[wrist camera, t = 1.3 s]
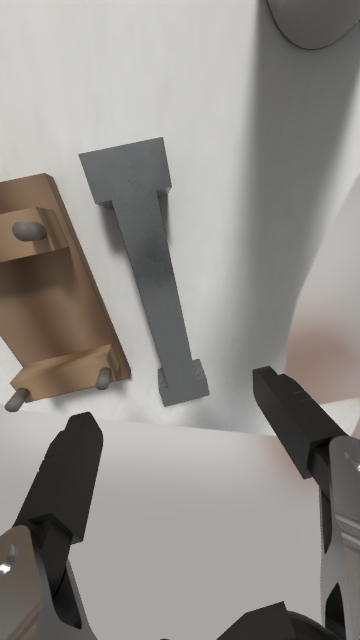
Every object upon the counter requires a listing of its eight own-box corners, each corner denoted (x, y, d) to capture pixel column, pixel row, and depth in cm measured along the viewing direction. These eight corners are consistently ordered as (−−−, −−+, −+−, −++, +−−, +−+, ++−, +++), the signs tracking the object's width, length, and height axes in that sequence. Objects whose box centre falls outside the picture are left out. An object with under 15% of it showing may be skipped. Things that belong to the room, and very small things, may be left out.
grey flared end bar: (160, 154, 17) (162, 136, 14) (202, 374, 29) (209, 395, 26) (93, 168, 17) (78, 154, 14) (162, 384, 29) (164, 406, 25)
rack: (53, 177, 17) (2, 152, 11) (130, 369, 27) (125, 409, 21) (-77, 204, 17) (-199, 193, 11) (51, 389, 27) (23, 435, 21)
